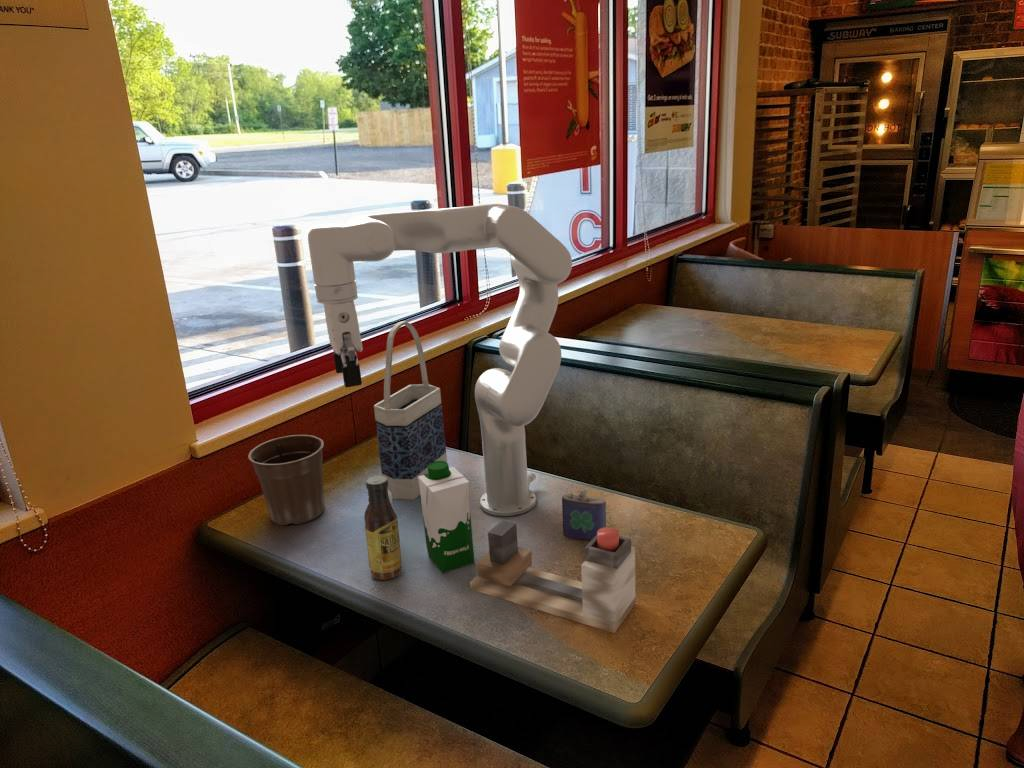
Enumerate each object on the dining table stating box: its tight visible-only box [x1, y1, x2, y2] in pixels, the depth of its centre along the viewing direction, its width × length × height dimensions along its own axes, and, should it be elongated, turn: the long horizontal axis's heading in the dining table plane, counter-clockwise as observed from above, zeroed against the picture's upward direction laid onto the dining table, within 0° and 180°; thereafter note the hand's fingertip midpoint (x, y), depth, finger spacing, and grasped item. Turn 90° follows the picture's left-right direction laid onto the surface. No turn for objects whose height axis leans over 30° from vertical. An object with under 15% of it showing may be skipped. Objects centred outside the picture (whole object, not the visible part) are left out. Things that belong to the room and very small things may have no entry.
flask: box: [561, 489, 607, 543], centre depth 155 cm, size 9×3×11 cm, turn 68°
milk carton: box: [418, 461, 475, 575], centre depth 148 cm, size 9×9×20 cm
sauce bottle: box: [363, 475, 403, 581], centre depth 146 cm, size 7×6×20 cm
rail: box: [469, 535, 636, 634], centre depth 136 cm, size 29×9×14 cm, turn 59°
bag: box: [373, 320, 448, 500], centre depth 179 cm, size 18×9×40 cm, turn 153°
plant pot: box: [248, 434, 326, 526], centre depth 172 cm, size 16×16×16 cm
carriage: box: [476, 519, 533, 586], centre depth 141 cm, size 7×8×9 cm
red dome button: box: [597, 526, 620, 552], centre depth 128 cm, size 4×4×3 cm
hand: (348, 378), depth 148 cm, fingers open, 9 cm apart
